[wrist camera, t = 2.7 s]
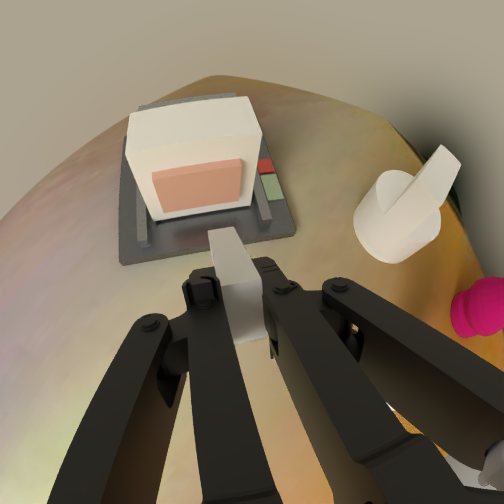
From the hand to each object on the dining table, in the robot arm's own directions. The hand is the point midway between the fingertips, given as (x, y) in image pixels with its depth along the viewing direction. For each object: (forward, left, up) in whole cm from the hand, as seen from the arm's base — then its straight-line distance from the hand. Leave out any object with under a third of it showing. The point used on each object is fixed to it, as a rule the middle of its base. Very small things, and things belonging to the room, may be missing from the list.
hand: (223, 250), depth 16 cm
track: (-1, +14, -11) cm, 17 cm away
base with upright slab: (+20, +4, -11) cm, 23 cm away
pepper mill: (+29, -10, -11) cm, 33 cm away
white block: (-1, +10, -9) cm, 14 cm away
